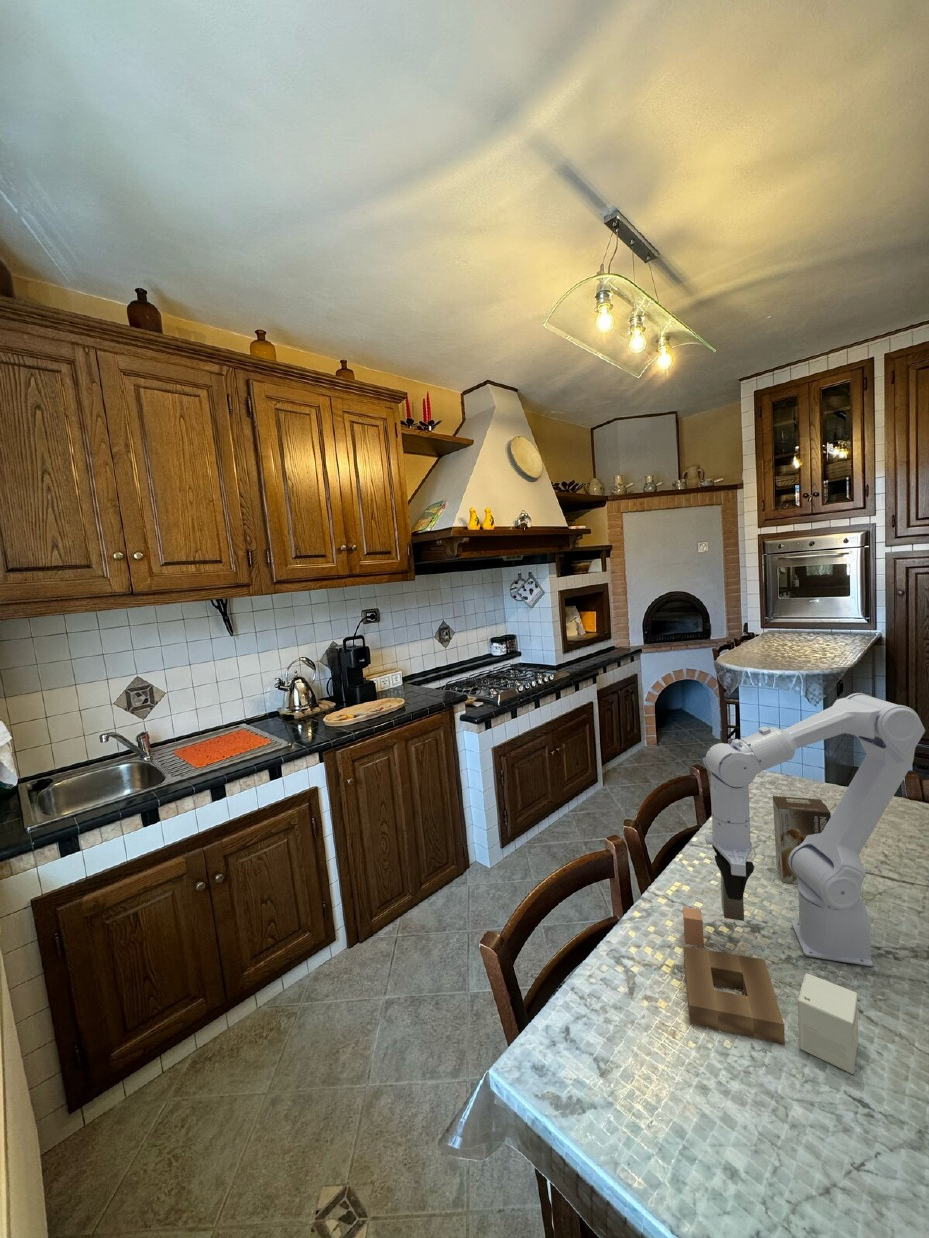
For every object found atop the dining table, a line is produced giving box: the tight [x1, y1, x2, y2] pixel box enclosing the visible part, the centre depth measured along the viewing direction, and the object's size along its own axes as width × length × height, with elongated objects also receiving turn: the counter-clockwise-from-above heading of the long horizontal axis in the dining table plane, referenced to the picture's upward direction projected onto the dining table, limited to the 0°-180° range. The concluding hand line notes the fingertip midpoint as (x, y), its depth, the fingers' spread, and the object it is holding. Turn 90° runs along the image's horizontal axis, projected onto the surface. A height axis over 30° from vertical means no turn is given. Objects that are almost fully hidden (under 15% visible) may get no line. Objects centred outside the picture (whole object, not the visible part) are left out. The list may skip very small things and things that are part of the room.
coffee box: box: [772, 795, 832, 885], centre depth 102 cm, size 9×6×16 cm
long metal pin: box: [720, 853, 745, 922], centre depth 85 cm, size 3×3×10 cm
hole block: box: [682, 945, 786, 1045], centre depth 76 cm, size 12×12×3 cm
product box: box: [797, 972, 860, 1075], centre depth 67 cm, size 6×6×7 cm
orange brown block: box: [682, 906, 705, 948], centre depth 88 cm, size 3×3×5 cm
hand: (732, 891), depth 85 cm, fingers closed on long metal pin, 3 cm apart
